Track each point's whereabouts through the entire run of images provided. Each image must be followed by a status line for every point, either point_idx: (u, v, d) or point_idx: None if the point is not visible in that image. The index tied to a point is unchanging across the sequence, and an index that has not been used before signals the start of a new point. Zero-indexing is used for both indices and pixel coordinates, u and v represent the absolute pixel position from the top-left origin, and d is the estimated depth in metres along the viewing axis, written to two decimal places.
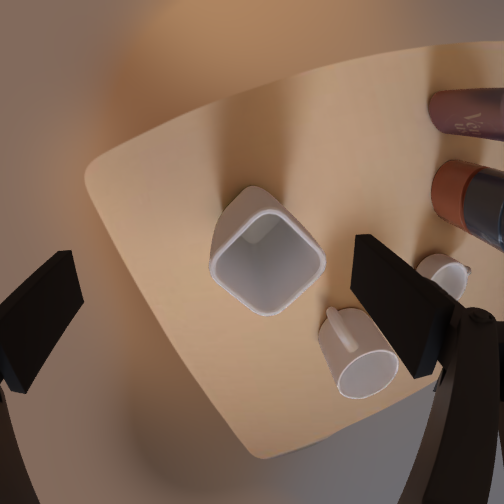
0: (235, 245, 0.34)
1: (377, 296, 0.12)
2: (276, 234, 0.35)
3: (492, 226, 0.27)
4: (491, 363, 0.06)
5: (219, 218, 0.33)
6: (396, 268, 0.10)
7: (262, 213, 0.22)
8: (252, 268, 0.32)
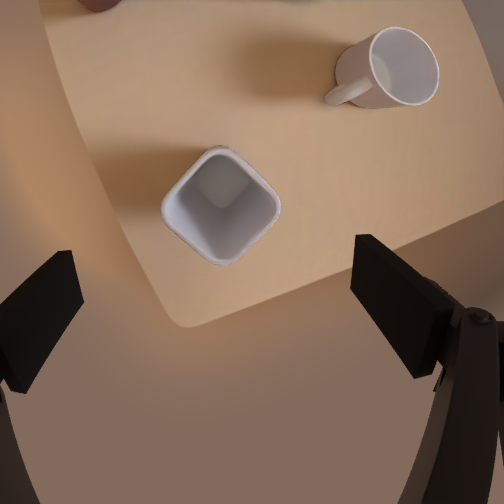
0: (240, 206, 0.33)
1: (377, 296, 0.12)
2: None
3: None
4: (491, 363, 0.06)
5: None
6: (396, 268, 0.10)
7: (166, 218, 0.23)
8: (258, 196, 0.31)
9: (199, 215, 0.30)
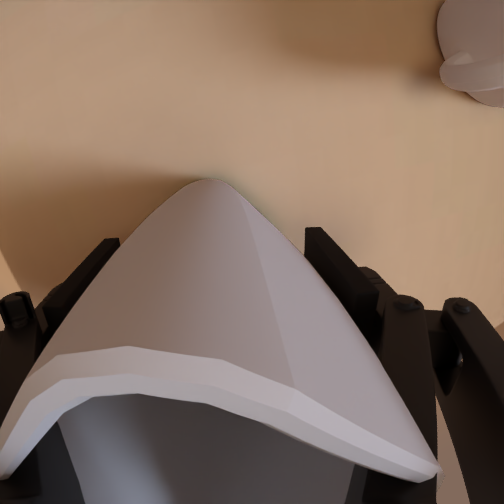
0: None
1: None
2: None
3: None
4: (421, 349, 0.06)
5: None
6: (331, 256, 0.12)
7: None
8: None
9: None
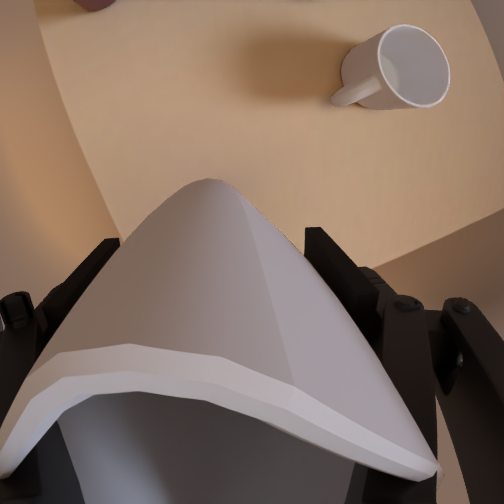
0: None
1: None
2: None
3: None
4: (421, 349, 0.06)
5: None
6: (331, 257, 0.12)
7: None
8: None
9: None
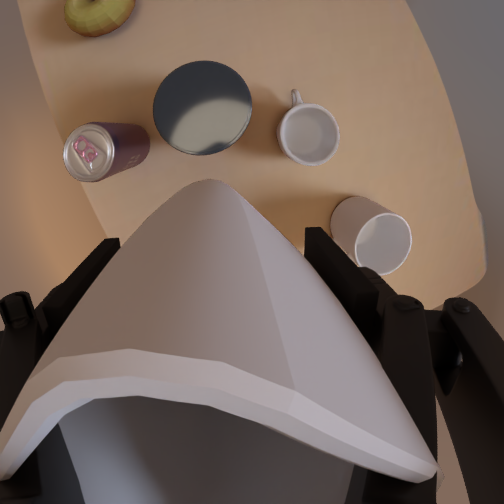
0: None
1: None
2: None
3: None
4: (421, 349, 0.06)
5: None
6: (331, 256, 0.12)
7: None
8: None
9: None
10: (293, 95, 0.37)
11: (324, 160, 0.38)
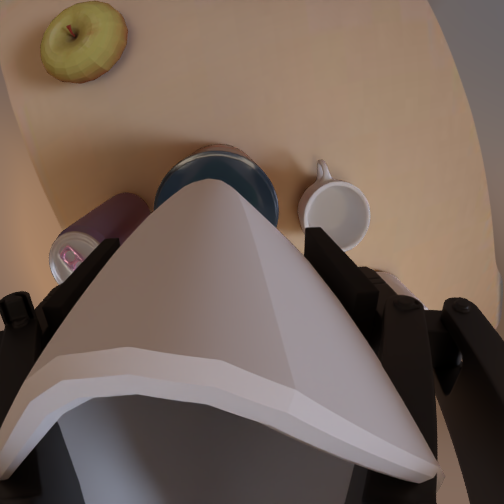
0: None
1: None
2: None
3: None
4: (421, 349, 0.06)
5: None
6: (331, 257, 0.12)
7: None
8: None
9: None
10: (319, 165, 0.33)
11: (351, 246, 0.34)
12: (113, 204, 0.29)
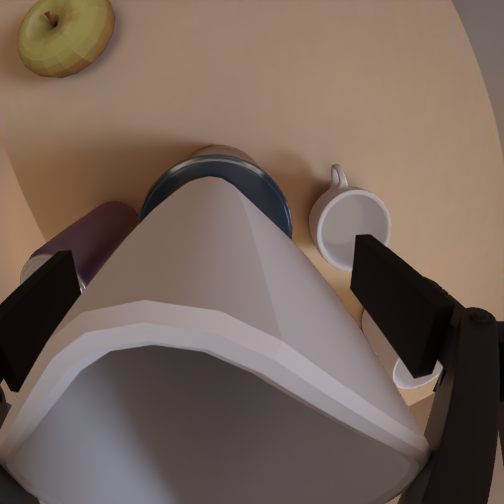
0: None
1: (377, 296, 0.12)
2: None
3: None
4: (491, 363, 0.06)
5: None
6: (396, 268, 0.10)
7: (31, 489, 0.04)
8: None
9: (159, 363, 0.11)
10: (334, 171, 0.29)
11: None
12: (96, 216, 0.25)
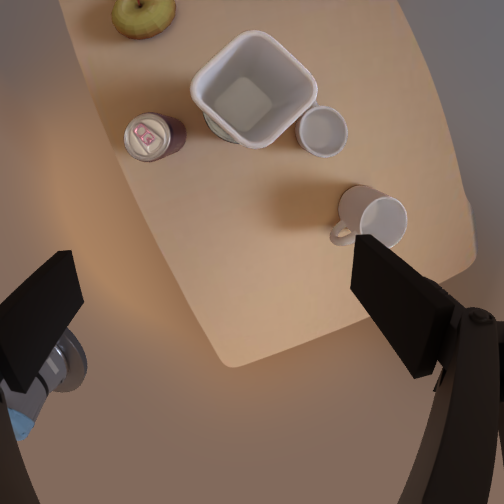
0: (265, 121, 0.30)
1: (377, 296, 0.12)
2: (258, 80, 0.30)
3: None
4: (491, 363, 0.06)
5: None
6: (396, 268, 0.10)
7: (196, 95, 0.20)
8: (285, 105, 0.27)
9: None
10: None
11: (335, 153, 0.45)
12: None
